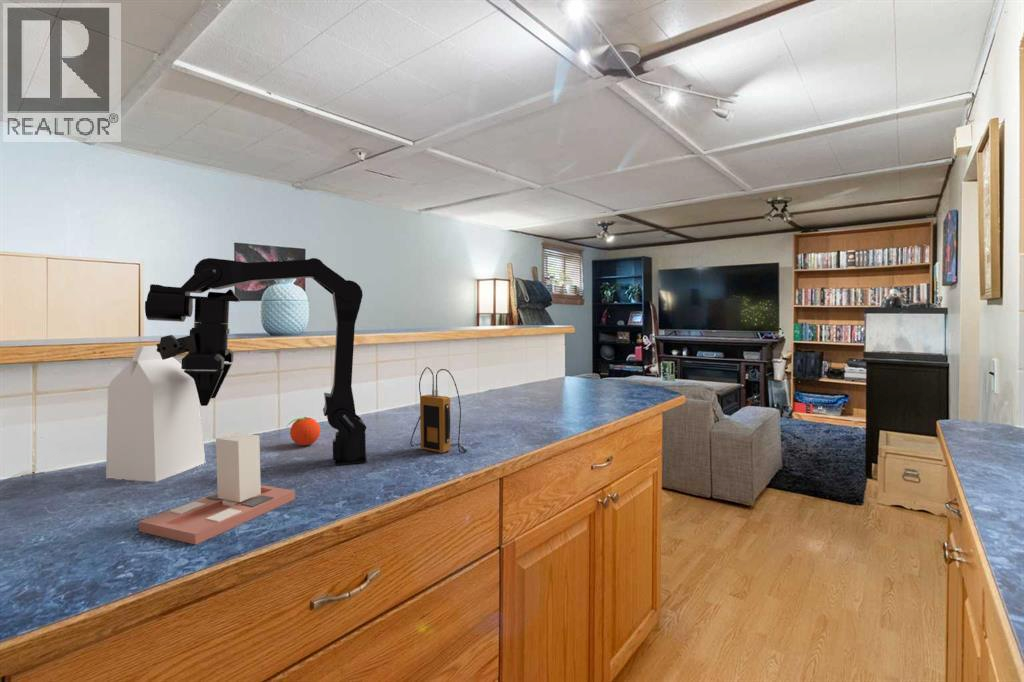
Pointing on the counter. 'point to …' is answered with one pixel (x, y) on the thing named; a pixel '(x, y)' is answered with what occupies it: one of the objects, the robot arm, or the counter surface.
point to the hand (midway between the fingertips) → (208, 401)
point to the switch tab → (238, 468)
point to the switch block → (212, 515)
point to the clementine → (304, 431)
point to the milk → (152, 420)
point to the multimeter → (436, 420)
